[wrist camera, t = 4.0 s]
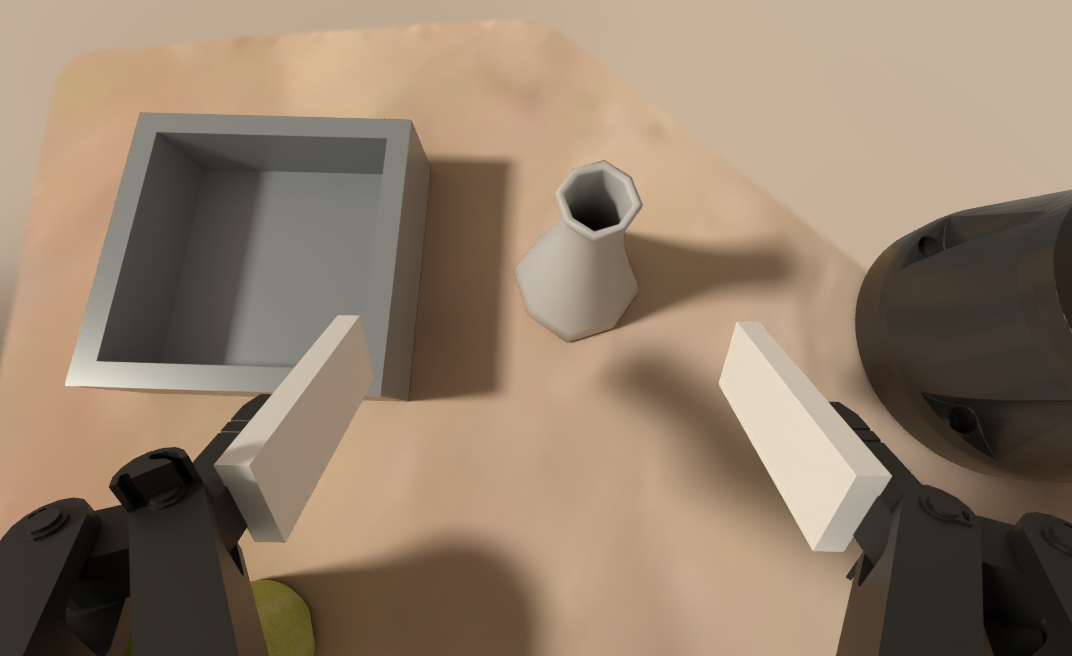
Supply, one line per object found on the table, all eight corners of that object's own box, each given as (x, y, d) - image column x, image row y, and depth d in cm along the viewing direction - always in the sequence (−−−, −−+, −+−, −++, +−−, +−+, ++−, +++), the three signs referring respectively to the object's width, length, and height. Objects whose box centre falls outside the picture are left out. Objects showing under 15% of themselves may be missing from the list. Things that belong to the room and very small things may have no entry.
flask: (586, 206, 27) (614, 86, 18) (659, 294, 26) (732, 217, 16) (493, 269, 27) (468, 179, 17) (563, 364, 25) (581, 326, 15)
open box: (430, 167, 28) (411, 119, 24) (408, 401, 25) (380, 396, 20) (201, 161, 28) (139, 112, 24) (148, 392, 25) (64, 385, 20)
